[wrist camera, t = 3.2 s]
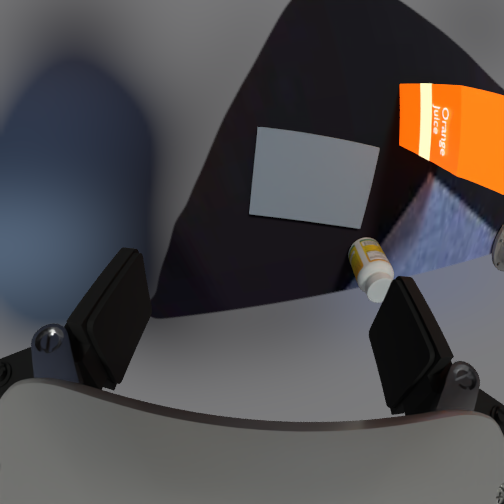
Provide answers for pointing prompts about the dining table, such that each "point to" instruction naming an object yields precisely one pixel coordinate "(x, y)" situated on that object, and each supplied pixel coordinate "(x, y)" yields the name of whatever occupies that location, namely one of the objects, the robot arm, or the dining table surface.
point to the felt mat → (311, 177)
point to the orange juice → (455, 130)
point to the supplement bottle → (371, 268)
